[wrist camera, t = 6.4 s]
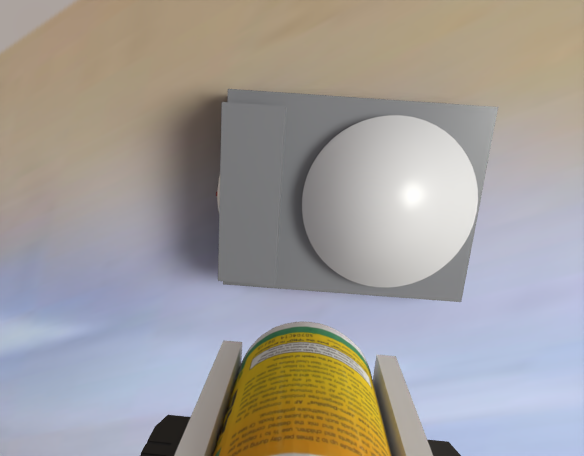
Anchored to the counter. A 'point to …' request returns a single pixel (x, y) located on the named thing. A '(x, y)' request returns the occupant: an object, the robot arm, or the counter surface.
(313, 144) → the scale
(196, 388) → the counter surface
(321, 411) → the supplement bottle
